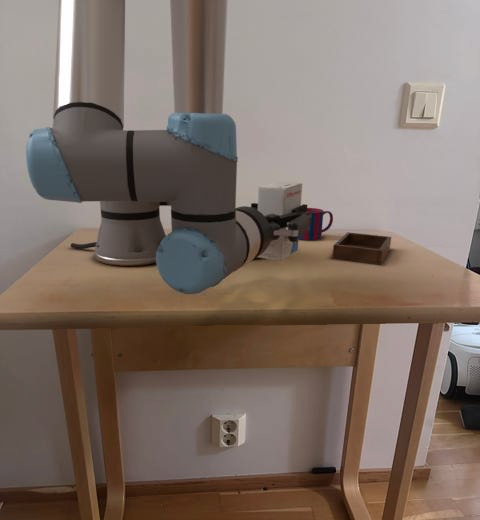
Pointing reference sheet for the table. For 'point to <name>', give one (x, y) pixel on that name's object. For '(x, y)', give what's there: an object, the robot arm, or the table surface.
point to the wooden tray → (362, 248)
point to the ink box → (279, 214)
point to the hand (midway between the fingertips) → (289, 210)
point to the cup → (316, 224)
